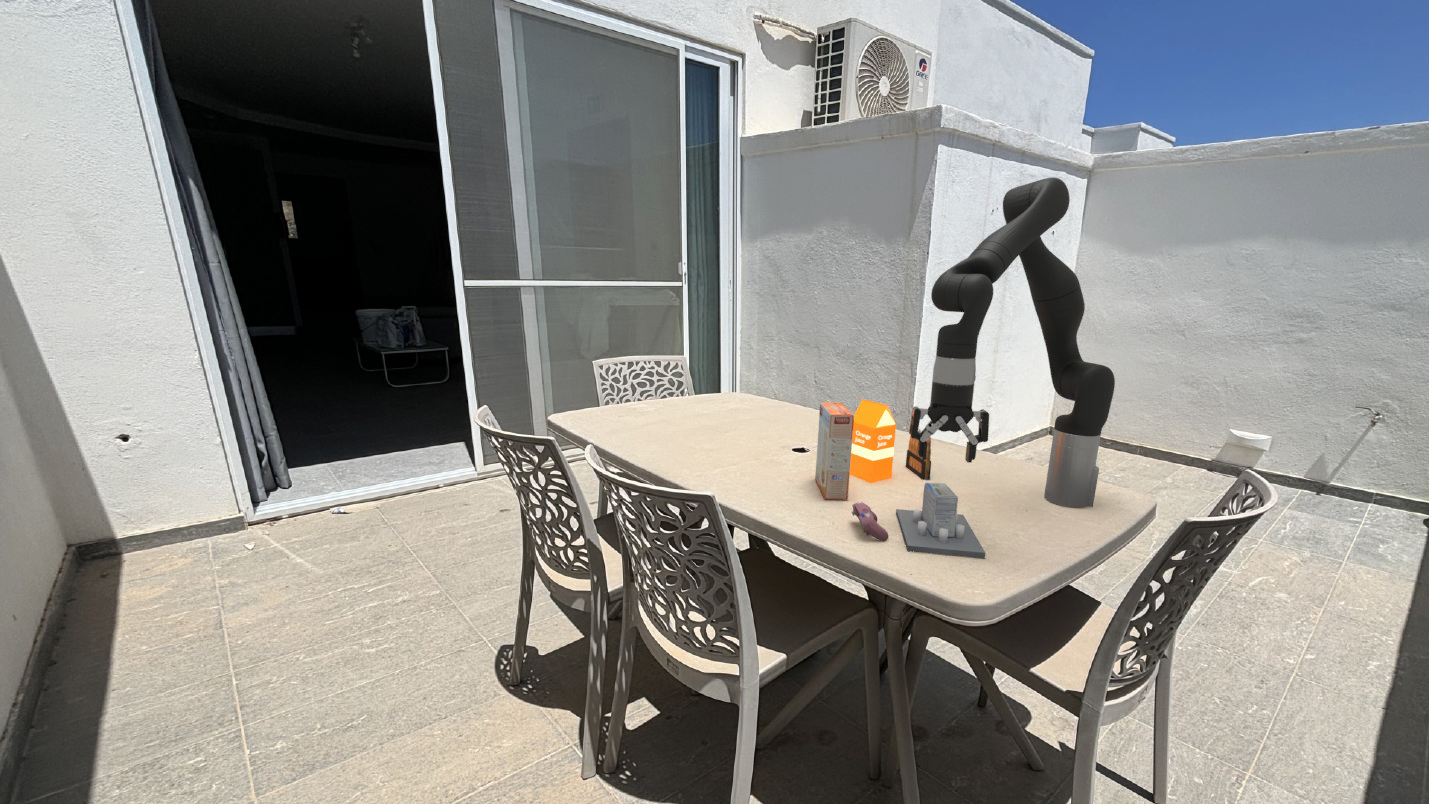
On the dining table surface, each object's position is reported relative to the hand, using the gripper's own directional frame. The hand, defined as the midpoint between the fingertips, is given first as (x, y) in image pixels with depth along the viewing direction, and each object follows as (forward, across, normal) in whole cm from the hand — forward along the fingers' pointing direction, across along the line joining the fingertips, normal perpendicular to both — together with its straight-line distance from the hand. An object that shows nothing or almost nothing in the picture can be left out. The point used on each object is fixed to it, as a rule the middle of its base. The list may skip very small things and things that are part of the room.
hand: (945, 460), depth 114 cm
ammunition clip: (+16, -2, -39) cm, 42 cm away
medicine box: (+15, 0, 0) cm, 15 cm away
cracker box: (+16, +21, -21) cm, 34 cm away
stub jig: (+16, 0, 0) cm, 16 cm away
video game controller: (+16, +14, +1) cm, 21 cm away
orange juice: (+16, +11, -34) cm, 39 cm away
